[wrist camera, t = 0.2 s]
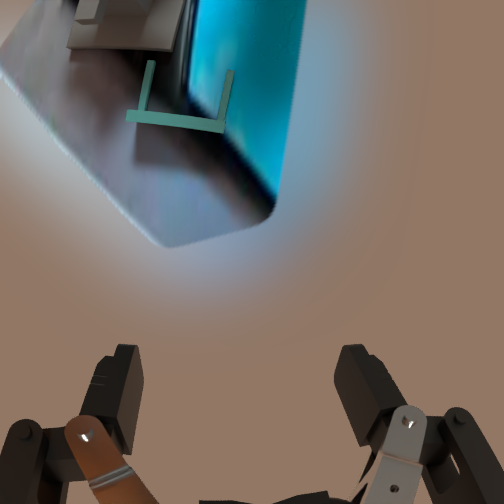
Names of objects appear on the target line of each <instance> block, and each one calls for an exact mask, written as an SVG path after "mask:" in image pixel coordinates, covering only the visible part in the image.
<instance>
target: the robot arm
mask: <svg viewBox="0 0 504 504" xmlns="http://www.w3.org/2000/svg"><path fill="white" fill-rule="evenodd" d="M143 380H144V377H143V370H142V365H141V359H140V354H139V348H138V346H137V345H127V344H118V346H117V348H116V351H115V354H114V356H105V357H104V358H103V359H102V360H101V361H100V362H99V363H98V364H97V366H96V369H95V371H94V374H93V377H92V380H91V384H90V385H89V388H88V391H87V393H86V396H85V399H84V402H83V405H82V408H81V411H80V413H79V416H76V417H74V418H72V419H71V420H70V421H69V422H68V423H67V424H66V426H64V427H59V428H48V429H47V428H46V429H42V428H41V427H40V425H39V424H38V423H37V422H35V421H33V420H29V419H22V420H19V421H17V422H15V423H14V424H13V425H12V426H11V427H10V429H9V431H8V434H7V437H6V440H5V443H4V446H3V449H2V451H1V455H0V504H66V499H67V492H68V486H69V482H72V481H84V480H87V481H88V483H89V487H90V488H91V490H92V492H93V494H94V496H95V497H96V499H97V501H98V502H99V504H159V502H158V501H157V500H156V499H155V497H154V496H153V495H152V494H151V493H150V491H149V490H148V488H147V487H146V486H145V485H144V483H143V482H142V481H141V479H140V478H139V476H138V475H137V474H136V473H135V471H134V470H133V469H132V468H131V467H129V465H128V464H127V463H126V461H125V460H124V458H123V457H122V455H123V454H126V455H131V454H132V448H133V441H134V435H135V429H136V423H137V418H138V412H139V407H140V401H141V396H142V391H143V383H144V381H143ZM334 384H335V387H336V389H337V392H338V394H339V397H340V399H341V402H342V404H343V407H344V409H345V411H346V414H347V416H348V419H349V421H350V424H351V426H352V428H353V431H354V434H355V436H356V439H357V441H358V444H359V446H360V447H361V446H366V445H370V447H371V449H372V450H371V451H370V453H369V455H368V458H367V460H366V463H365V465H364V468H363V470H362V472H361V475H360V477H359V479H358V481H357V483H356V486H355V488H354V489H353V491H352V493H351V494H350V496H349V498H348V499H347V500H342V499H339V498H329V495H328V492H327V491H322V492H316V493H309V494H302V495H297V496H294V497H291V498H288V499H285V500H282V501H279V502H276V503H273V504H413V501H414V498H415V494H416V491H417V488H418V484H419V480H420V476H421V475H422V478H423V480H424V482H425V485H426V487H427V490H428V492H429V495H430V498H431V500H432V503H433V504H504V471H503V469H502V467H501V465H500V463H499V462H498V460H497V458H496V456H495V454H494V453H493V451H492V449H491V447H490V446H489V444H488V442H487V440H486V439H485V437H484V435H483V433H482V432H481V430H480V428H479V427H478V425H477V423H476V422H475V420H474V418H473V417H472V415H471V414H470V413H469V412H468V411H466V410H465V409H463V408H459V407H454V408H451V409H449V410H448V411H447V412H446V413H445V415H444V416H443V417H441V416H425V414H424V413H423V411H421V410H420V409H419V408H417V407H415V406H410V405H408V404H407V403H406V401H405V399H404V397H403V396H402V394H401V392H400V391H399V389H398V387H397V386H396V384H395V382H394V381H393V380H392V377H391V375H390V374H389V373H388V370H387V369H386V368H385V366H384V364H383V362H382V361H380V360H379V359H378V358H377V357H375V356H374V355H369V354H368V352H367V350H366V349H365V347H364V346H363V345H362V344H353V345H344V346H343V347H342V350H341V353H340V356H339V360H338V363H337V366H336V369H335V373H334ZM451 454H452V455H453V457H454V460H455V462H456V463H457V466H458V468H459V472H460V475H459V473H458V471H457V469H456V467H455V465H454V463H453V461H452V459H451V457H450V456H451ZM199 504H250V503H244V502H238V501H232V500H230V501H229V500H228V501H202V500H200V501H199Z"/></svg>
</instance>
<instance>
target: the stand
mask: <svg viewBox="0 0 504 504" xmlns="http://www.w3.org/2000/svg"><path fill="white" fill-rule="evenodd" d="M185 2H186V0H80V1H79V4H78V7H77V11H76V14H75V17H74V21H73V24H72V28H71V31H70V35H69V39H68V43H67V47H66V48H69V49H71V50H73V49H133V50H151V51H164V52H172V51H173V47H174V43H175V39H176V35H177V31H178V27H179V24H180V20H181V16H182V13H183V9H184V6H185Z"/></svg>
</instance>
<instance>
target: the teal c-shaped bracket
mask: <svg viewBox="0 0 504 504" xmlns="http://www.w3.org/2000/svg"><path fill="white" fill-rule="evenodd" d="M155 65H156V62H155V61H154V60H148V61H147V65H146V70H145V75H144V79H143V84H142V89H141V94H140V100H139V105H138V110H127V114H126V120H125V121H130V122H141V123H150V124H159V125H168V126H176V127H183V128H191V129H198V130H204V131H211V132H217V133H224V128H225V123H226V122H224V119H225V114H226V109H227V104H228V99H229V95H230V90H231V85H232V81H233V76H234V71H232V70H227V74H226V78H225V83H224V88H223V92H222V97H221V102H220V107H219V112H218V117H217V120H212V119H206V118H199V117H192V116H184V115H176V114H168V113H160V112H151V111H146V110H147V104H148V99H149V94H150V89H151V84H152V79H153V74H154V69H155Z"/></svg>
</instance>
